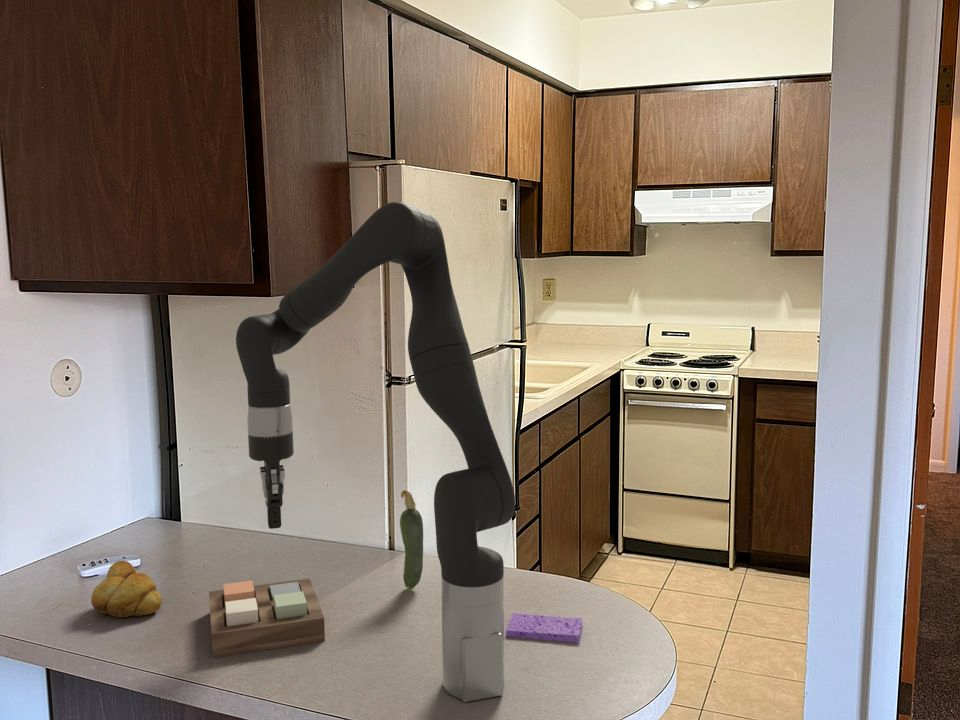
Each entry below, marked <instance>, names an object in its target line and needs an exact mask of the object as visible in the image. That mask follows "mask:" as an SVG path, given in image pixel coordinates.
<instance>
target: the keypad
mask: <svg viewBox="0 0 960 720" xmlns="http://www.w3.org/2000/svg"><path fill="white" fill-rule="evenodd" d="M293 582H298V584H299V587H300V590H301V592H302V591H303V593H304V596H305V599H306V602H307V615H304V616H297V617H290V618H283V619H276V617H275V613H274V600H273V601H270V585H277V584H285V583H293ZM253 586H254V594H255V598H256V602H257V608H258V622H255V623H248V624H241V625H234V626H227V623H226V607H225V603H224V589H219V590H211V591H208V598H209V601H208V602H209V617H210V632H211V633H210V634H211V649H212V652H211V654H212V658H213V659H214V658H220V657H228V656H233V655H235V656H236V655H240V654H241V655H242V654H246V653H253V652H258V651H259V652H260V651H267V650H271V649H278V648H279V649H280V648H287V647H292V646H297V645H304V644H312V643H318V642H325V641H326V633H325V631H326V630H325V616H324V614H323V611H322V609H321V605H320V603H319V600H318V597H317V594H316V592H315V589H314V586H313V583H312V581H311V578H303V579H302V578H301V579H293V580H287V581H281V582H280V581H279V582H272V583H271V582H270V583H264V584H256V585H253Z"/></svg>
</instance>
